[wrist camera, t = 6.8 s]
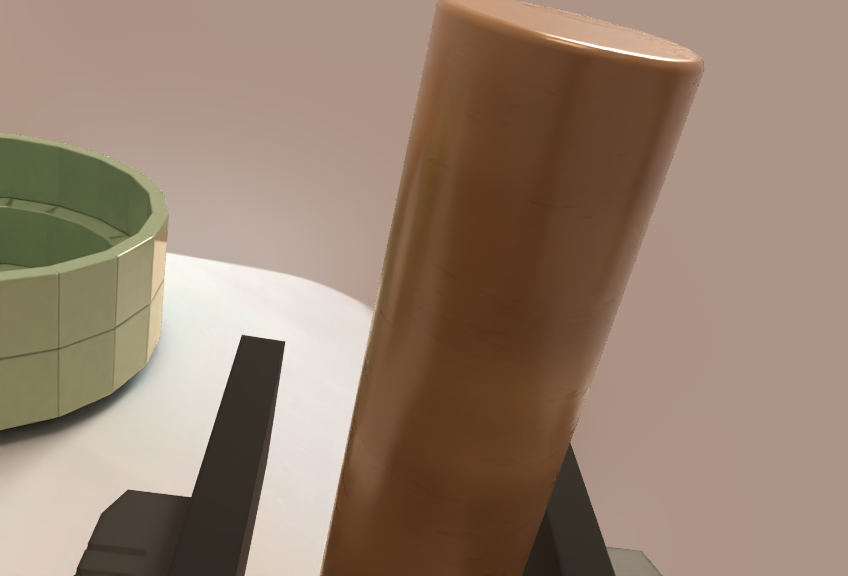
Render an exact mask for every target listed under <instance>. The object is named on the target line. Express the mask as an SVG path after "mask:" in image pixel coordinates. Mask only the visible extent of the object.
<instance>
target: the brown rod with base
mask: <svg viewBox="0 0 848 576" xmlns="http://www.w3.org/2000/svg"><path fill="white" fill-rule="evenodd" d="M703 72H704V63H703V60H702V59H701V58H700V57H699V56H697V55H696V54H695V53H694V52H692V51H690V50H689V49H687V48H685V47H683V46H680V45H678V44H675V43H673V42H670V41H668V40H665V39H662V38H659V37H656V36H653V35H650V34H647V33H644V32H641V31H637V30H634V29H631V28H627V27H624V26H621V25H617V24H613V23H610V22H606V21H602V20H599V19H595V18H591V17H587V16H583V15H579V14H575V13H571V12H567V11H563V10H558V9H553V8H549V7H545V6H540V5H535V4H530V3H525V2H520V1H515V0H439V2H438V3H437V5H436V10H435V15H434V20H433V25H432V29H431V34H430V40H429V44H428V49H427V54H426V59H425V64H424V69H423V73H422V79H421V84H420V88H419V93H418V98H417V103H416V108H415V112H414V118H413V122H412V127H411V132H410V137H409V142H408V147H407V152H406V157H405V161H404V166H403V171H402V176H401V181H400V186H399V191H398V195H397V200H396V205H395V210H394V215H393V220H392V225H391V230H390V234H389V239H388V244H387V249H386V254H385V259H384V264H383V269H382V274H381V278H380V283H379V288H378V293H377V298H376V304H375V308H374V312H373V317H372V322H371V327H370V332H369V337H368V342H367V347H366V352H365V356H364V361H363V366H362V371H361V376H360V381H359V386H358V391H357V395H356V400H355V405H354V410H353V415H352V420H351V425H350V430H349V434H348V439H347V444H346V449H345V454H344V459H343V464H342V469H341V473H340V478H339V483H338V488H337V493H336V498H335V503H334V508H333V513H332V517H331V522H330V527H329V532H328V537H327V542H326V547H325V552H324V556H323V561H322V566H321V571H320V576H522V575H523V572H524V569H525V566H526V564H527V561H528V558H529V555H530V553H531V550H532V547H533V544H534V541H535V539H536V536H537V533H538V530H539V528H540V525H541V522H542V519H543V516H544V514H545V511H546V508H547V505H548V502H549V500H550V497H551V494H552V491H553V489H554V486H555V483H556V480H557V477H558V475H559V472H560V469H561V466H562V464H563V461H564V458H565V455H566V452H567V450H568V447H569V444H570V441H571V439H572V436H573V433H574V430H575V427H576V425H577V422H578V419H579V416H580V413H581V411H582V408H583V405H584V402H585V400H586V397H587V394H588V391H589V388H590V386H591V383H592V380H593V377H594V375H595V372H596V369H597V366H598V364H599V361H600V358H601V355H602V352H603V350H604V347H605V344H606V341H607V339H608V336H609V333H610V330H611V327H612V325H613V322H614V319H615V316H616V314H617V311H618V308H619V305H620V302H621V300H622V297H623V294H624V291H625V289H626V286H627V283H628V280H629V277H630V275H631V272H632V269H633V266H634V263H635V261H636V258H637V255H638V252H639V249H640V247H641V244H642V241H643V239H644V236H645V233H646V230H647V227H648V224H649V222H650V219H651V216H652V214H653V211H654V208H655V205H656V202H657V200H658V197H659V194H660V191H661V189H662V186H663V183H664V180H665V177H666V175H667V172H668V169H669V166H670V164H671V161H672V158H673V155H674V152H675V150H676V147H677V144H678V141H679V138H680V136H681V133H682V130H683V127H684V125H685V122H686V119H687V116H688V113H689V111H690V108H691V105H692V102H693V100H694V97H695V94H696V91H697V89H698V86H699V83H700V80H701V77H702V75H703Z"/></svg>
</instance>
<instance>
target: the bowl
mask: <svg viewBox="0 0 848 576" xmlns="http://www.w3.org/2000/svg"><path fill="white" fill-rule="evenodd" d="M168 218H169V214H168V209H167V204H166V200H165V195H164V193H163V192H162V191H161V190H160V189H159V188H158V187H157V186H156V185H155V184H154V183H153V182H152V181H151V180H150V179H148V177H147V176H146V175H145V174H143V173H142V172H140V171H138V170H136V169H134V168H132V167H130V166H128V165H126V164H124V163H122V162H120V161H117V160H116V159H114V158H112V157H109V156H106V155H103V154H100V153H96V152H93V151H90V150H86V149H83V148H80V147H77V146H73V145H70V144H65V143H62V142H56V141H51V140H45V139H39V138H34V137H28V136H22V135H17V134H9V133H0V430H4V429H8V428H13V427H17V426H22V425H26V424H30V423H35V422H39V421H44V420H48V419H53V418H56V417H57V416H58V417H61V416H63V415H65V414H68V413H70V412H72V411H74V410H77V409H79V408H81V407H83V406H86V405H88V404H90V403H92V402H95V401H97V400H99V399H101V398H104V397H106V396H108V395H110V394H112V393H113V392H114V391H116V390H117V389H118V388H119V387H121V386H122V385H123V384H124V383H125V382H127V381H128V380H129V379H130V378H132V377H133V376H134V375H135V374H136V373H138V372H139V371H140V370H141V369H143V368H144V367H145V365H147V363H148V361H149V359H150V357H151V355H152V353H153V351H154V349H155V347H156V345H157V343H158V341H159V339H160V332H161V318H162V304H163V290H164V276H165V262H166V247H167V233H168Z"/></svg>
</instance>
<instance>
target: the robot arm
mask: <svg viewBox="0 0 848 576" xmlns="http://www.w3.org/2000/svg"><path fill="white" fill-rule="evenodd" d="M284 346H285V341H278V340H272V339H265V338H258V337H252V336H245V335H242V336H241V340H240V343H239V346H238V349H237V353H236V356H235V359H234V362H233V365H232V369H231V372H230V375H229V378H228V381H227V385H226V388H225V391H224V394H223V397H222V401H221V404H220V407H219V410H218V413H217V417H216V420H215V423H214V426H213V429H212V433H211V436H210V439H209V442H208V445H207V449H206V452H205V455H204V458H203V461H202V465H201V468H200V471H199V474H198V477H197V481H196V484H195V487H194V490H193V493H192V497H183V496H175V495H167V494H159V493H151V492H143V491H135V490H127V491H126V492H125V493H124V494H123V495H122V496H120V497H119V498H118V499H117V500H116V501H115V502H114V503H113V504H112V505H110V506H109V507H108V508H107V509H106V510H105V511H104V512H103V513H102V514H101V516H100V518H99V520H98V522H97V525H96V527H95V529H94V531H93V534H92V536H91V538H90V540H89V542H88V547H87V550H85V551H84V554H83V556H82V558H81V560H80V563H79V565H78V567H77V571H76V574H75V575H74V576H244V575H245V570H246V565H247V560H248V555H249V550H250V545H251V540H252V535H253V530H254V525H255V520H256V515H257V510H258V505H259V500H260V495H261V490H262V485H263V480H264V475H265V470H266V465H267V459H268V452H269V445H270V439H271V432H272V426H273V419H274V412H275V406H276V399H277V393H278V386H279V379H280V373H281V366H282V360H283V353H284ZM522 576H662V575H661V573H660V572H659V571H658V570H657V569H656V567H655V566H654V565H653V564H652V563H651V561H650V560H649V559H648V558H647V557H646V556H645V555H644V553H643V552H642V551H637V550H629V549H621V548H613V547H606V546H605V543H604V540H603V537H602V535H601V531H600V528H599V525H598V523H597V519H596V516H595V514H594V511H593V508H592V505H591V502H590V499H589V496H588V493H587V490H586V487H585V484H584V481H583V478H582V476H581V473H580V470H579V467H578V464H577V461H576V458H575V455H574V452H573V449H572V446H571V443H570V444H569V447H568V450H567V452H566V455H565V458H564V461H563V464H562V466H561V469H560V472H559V475H558V477H557V480H556V483H555V486H554V489H553V491H552V494H551V497H550V500H549V502H548V505H547V508H546V511H545V514H544V516H543V519H542V522H541V525H540V528H539V530H538V533H537V536H536V539H535V541H534V544H533V547H532V550H531V553H530V555H529V558H528V561H527V564H526V566H525V569H524V572H523V575H522Z"/></svg>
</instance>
